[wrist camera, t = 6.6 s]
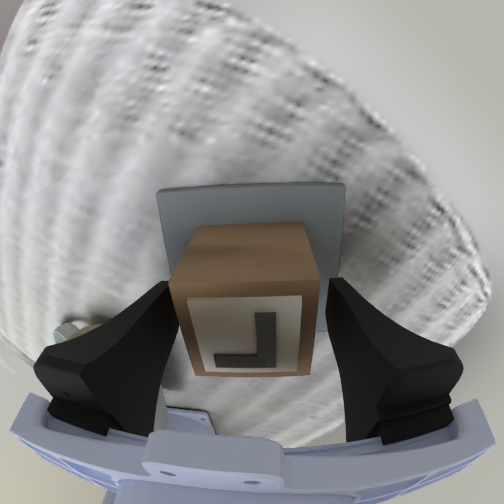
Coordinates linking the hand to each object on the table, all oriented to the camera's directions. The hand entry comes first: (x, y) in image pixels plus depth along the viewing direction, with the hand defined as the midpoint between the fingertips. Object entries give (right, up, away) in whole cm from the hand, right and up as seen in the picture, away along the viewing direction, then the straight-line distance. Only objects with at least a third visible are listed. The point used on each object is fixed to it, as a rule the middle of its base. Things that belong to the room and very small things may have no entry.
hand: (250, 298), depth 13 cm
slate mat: (0, +1, +2) cm, 3 cm away
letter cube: (0, +1, +2) cm, 2 cm away
